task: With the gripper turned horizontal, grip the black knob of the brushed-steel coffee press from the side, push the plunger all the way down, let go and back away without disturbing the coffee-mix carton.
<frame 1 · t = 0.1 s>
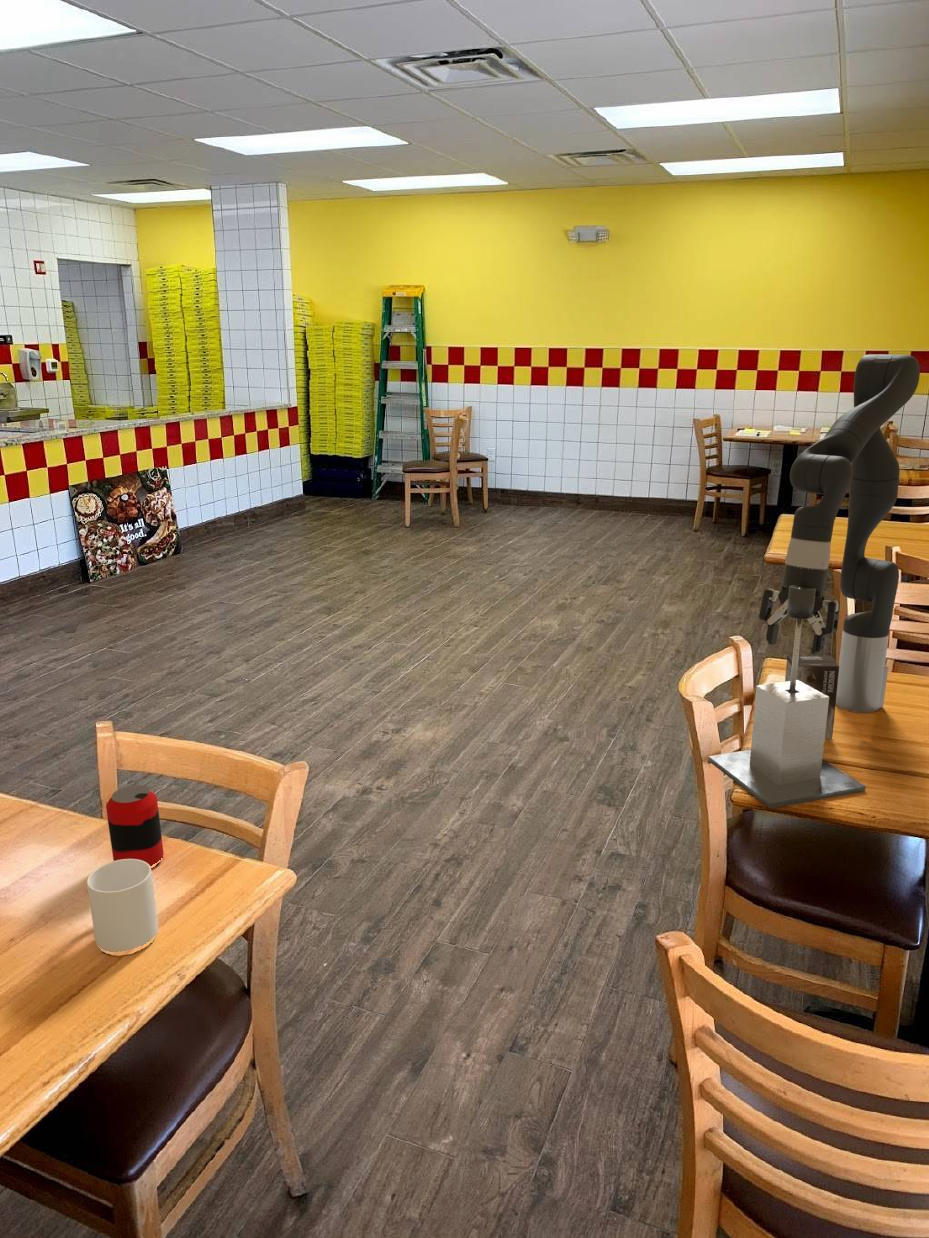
hand: (793, 649, 175), 22 cm above the table, tool pointing down, fingers open, 8 cm apart
coffee box: (805, 734, 192), on the table
cup: (125, 933, 131), on the table
soda can: (139, 862, 148), on the table
press: (783, 775, 174), on the table
plunger: (796, 645, 167), point 26 cm above the table, slide at 0.0 cm
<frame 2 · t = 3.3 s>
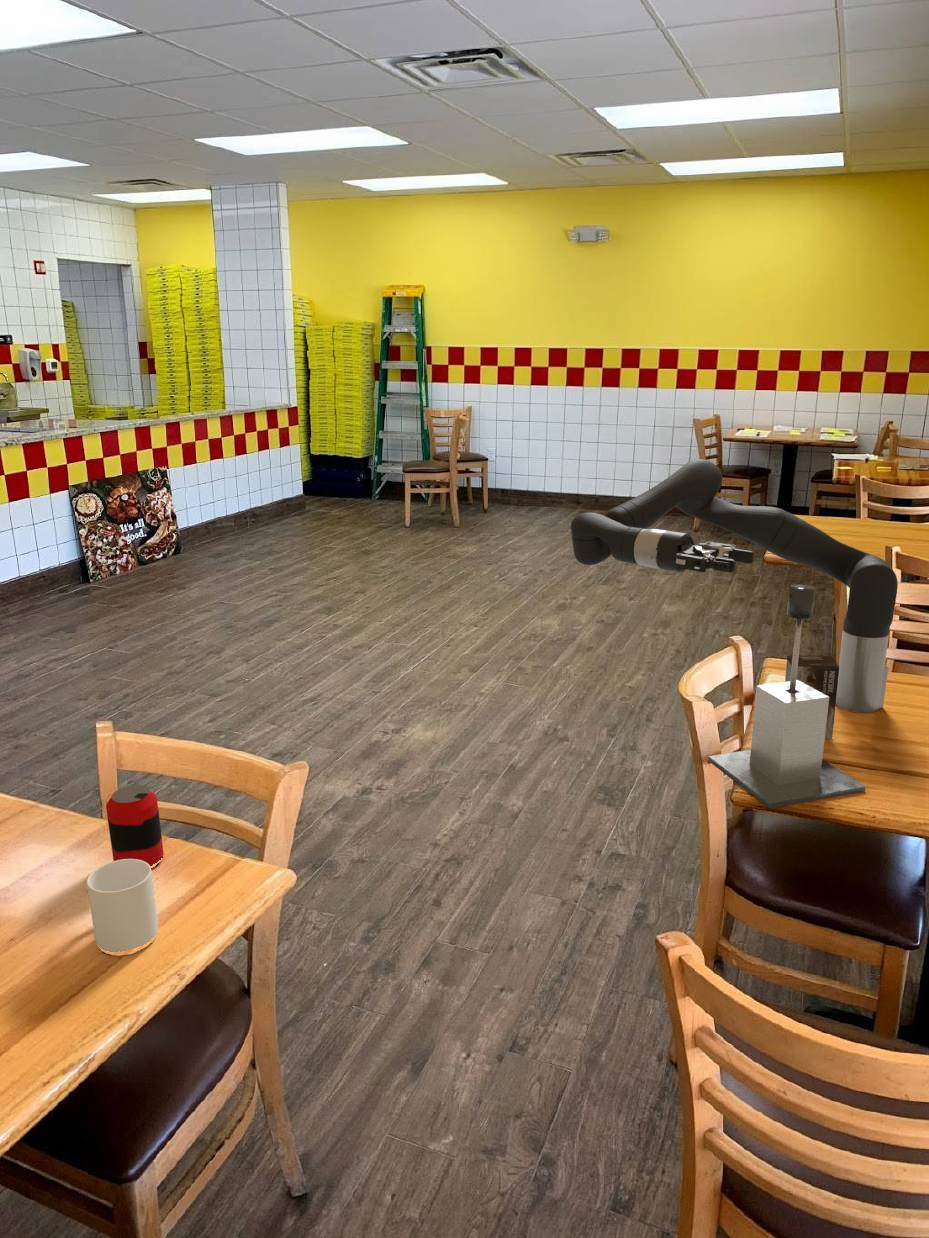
hand: (744, 562, 169), 40 cm above the table, tool horizontal, fingers open, 8 cm apart
nothing on the table moved.
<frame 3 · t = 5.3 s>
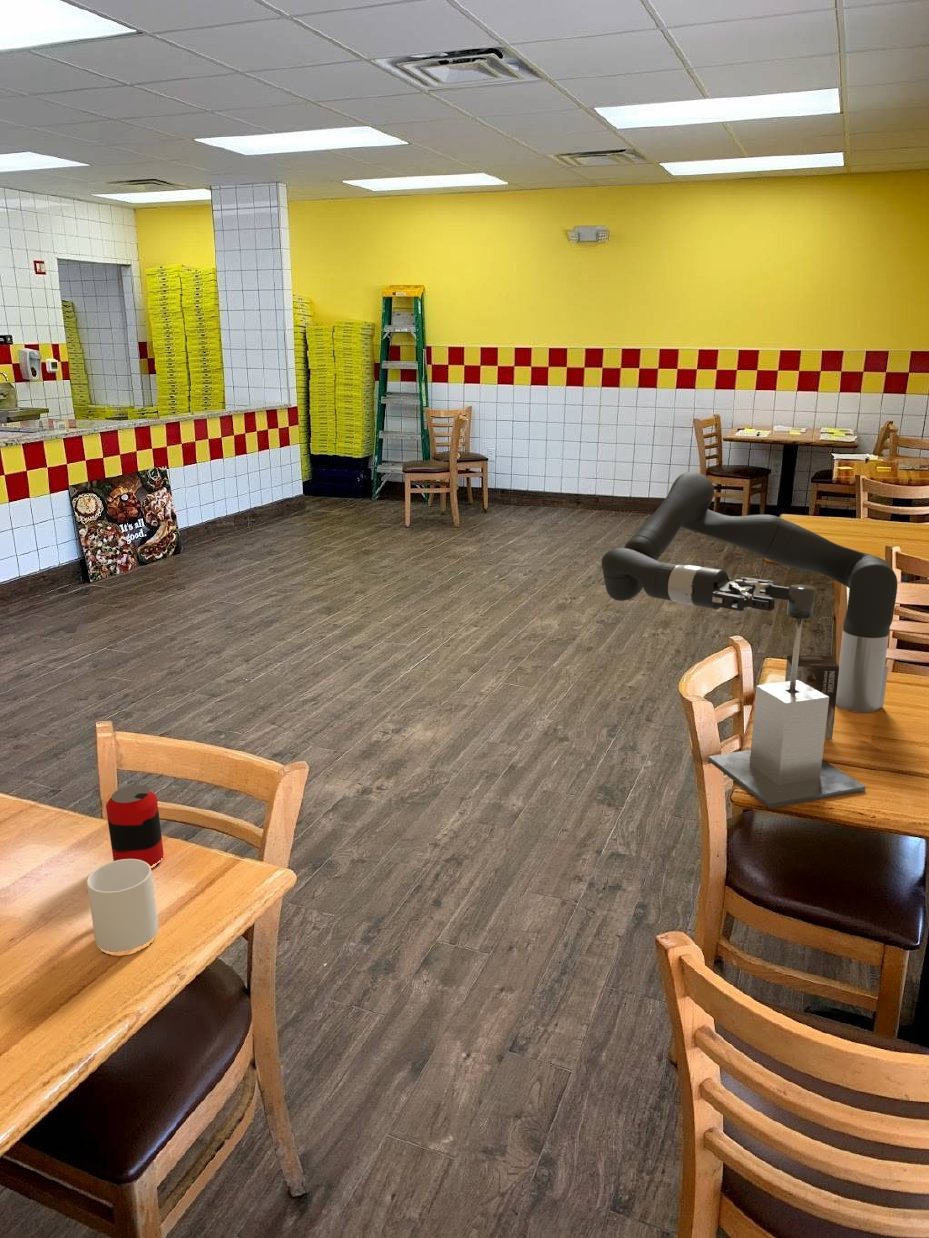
hand: (782, 599, 166), 34 cm above the table, tool horizontal, fingers open, 8 cm apart
nothing on the table moved.
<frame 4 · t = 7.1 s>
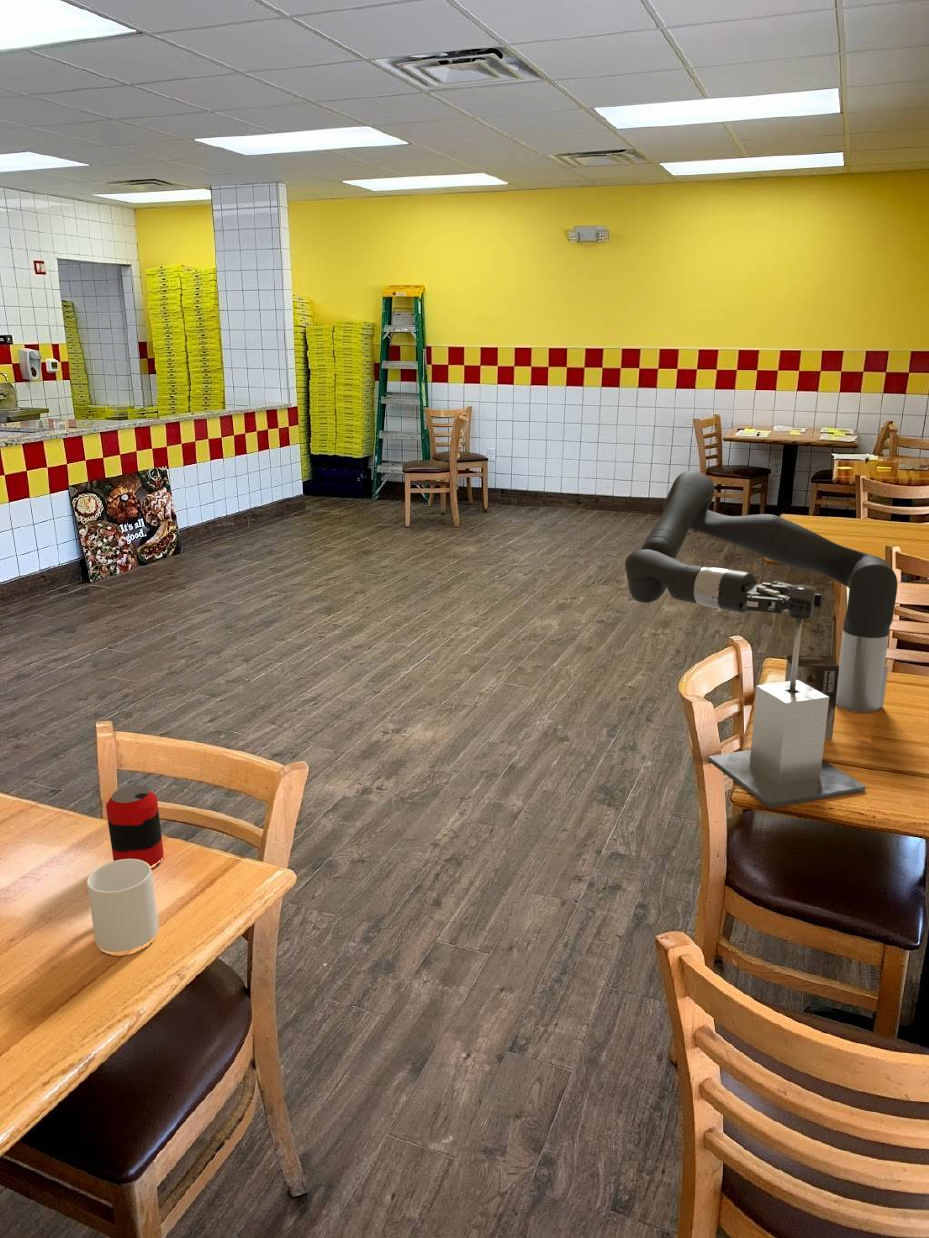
hand: (816, 604, 163), 34 cm above the table, tool horizontal, fingers closed on plunger, 4 cm apart
plunger: (796, 646, 167), point 26 cm above the table, slide at 0.0 cm, touching gripper
everything else where it was.
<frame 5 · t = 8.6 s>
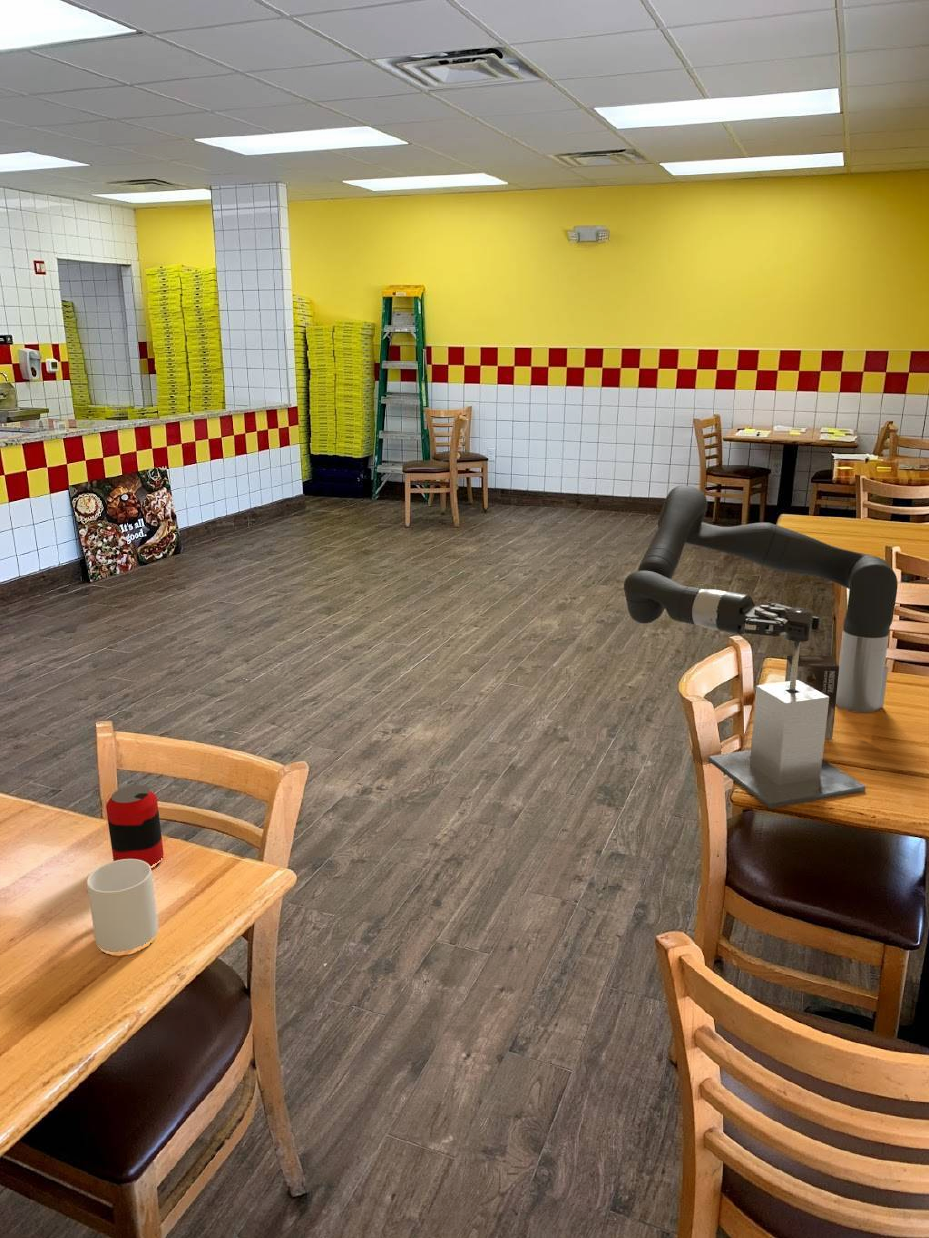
hand: (814, 627, 164), 30 cm above the table, tool horizontal, fingers closed on plunger, 4 cm apart
plunger: (794, 668, 168), point 21 cm above the table, slide at 4.3 cm, touching gripper
everything else where it was.
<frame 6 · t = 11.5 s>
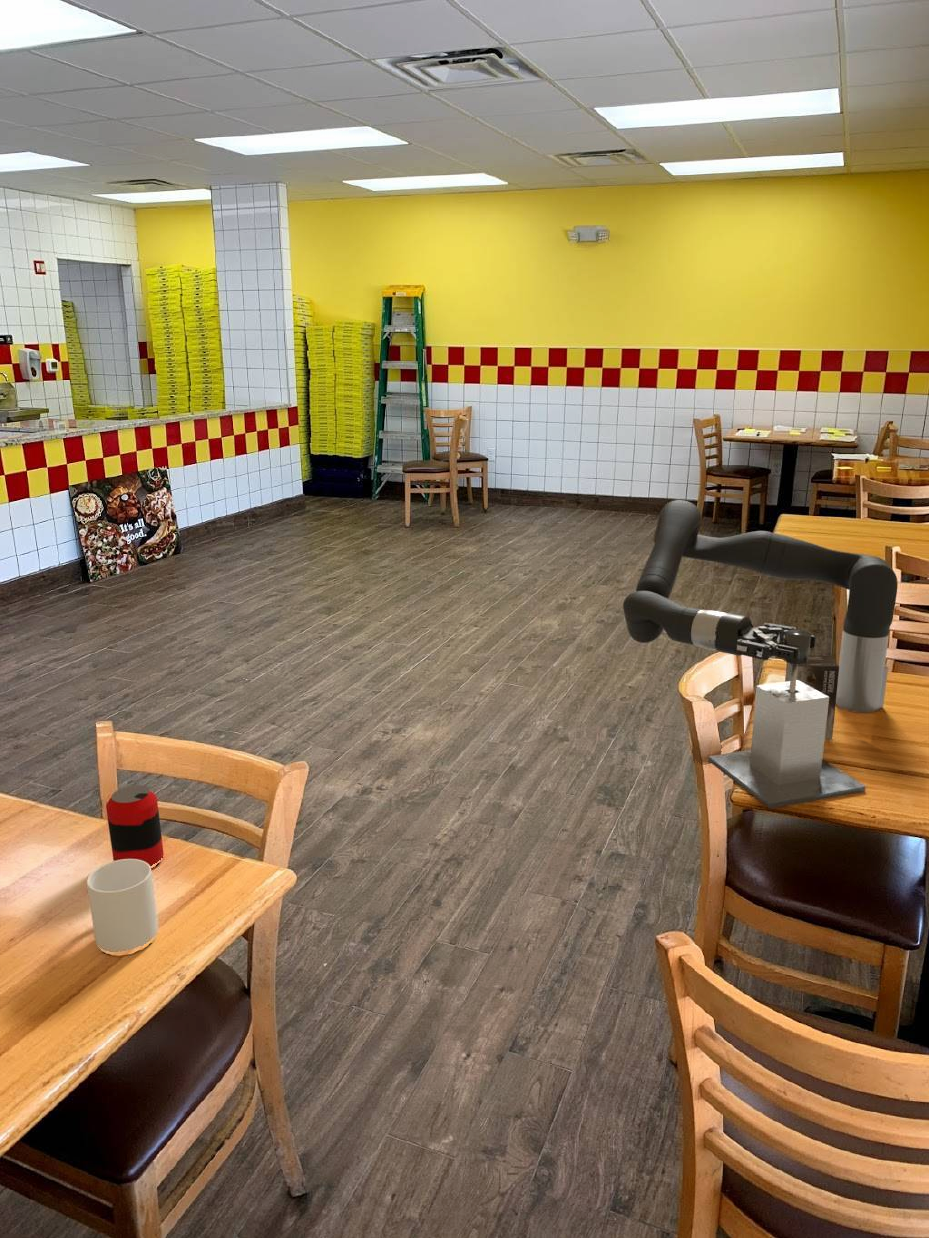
hand: (807, 648, 165), 26 cm above the table, tool horizontal, fingers open, 8 cm apart
plunger: (792, 689, 169), point 17 cm above the table, slide at 8.4 cm
everything else where it was.
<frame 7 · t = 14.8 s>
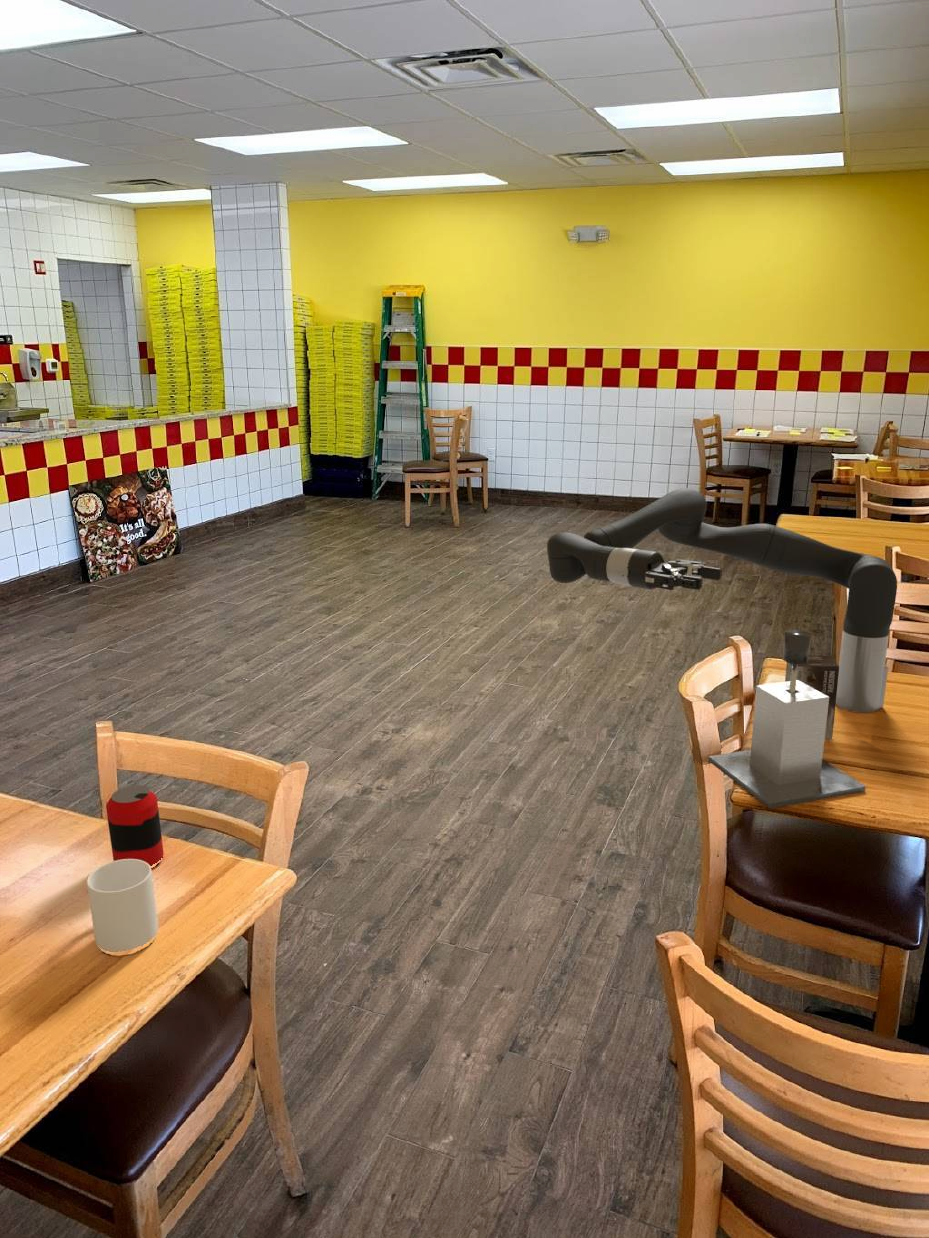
hand: (711, 579, 175), 35 cm above the table, tool horizontal, fingers open, 8 cm apart
nothing on the table moved.
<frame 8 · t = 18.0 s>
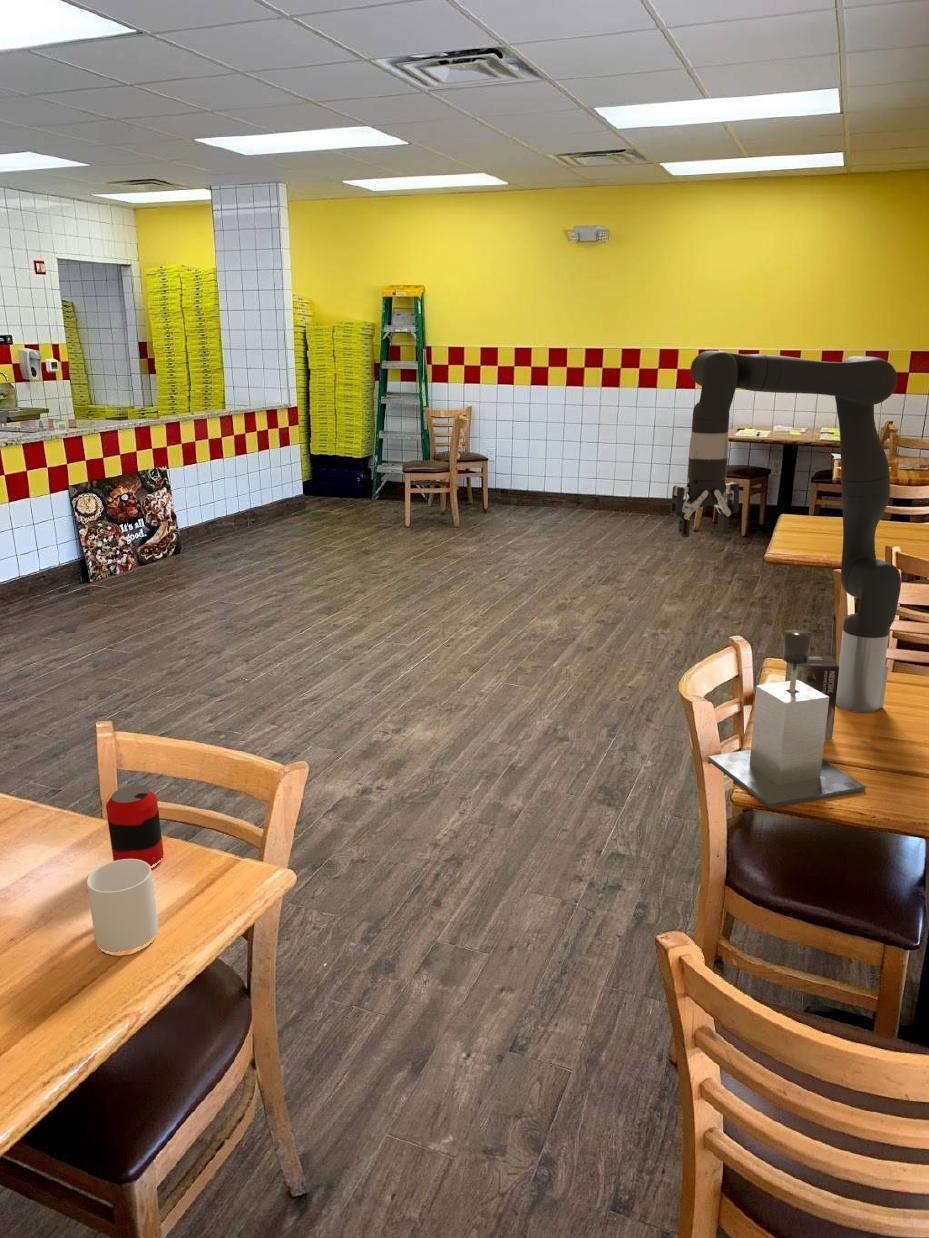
hand: (703, 535, 189), 40 cm above the table, tool pointing down, fingers open, 8 cm apart
nothing on the table moved.
at the end: plunger slide at 8.4 cm; the gripper is holding nothing; coffee box moved 0.2 cm from its start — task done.
